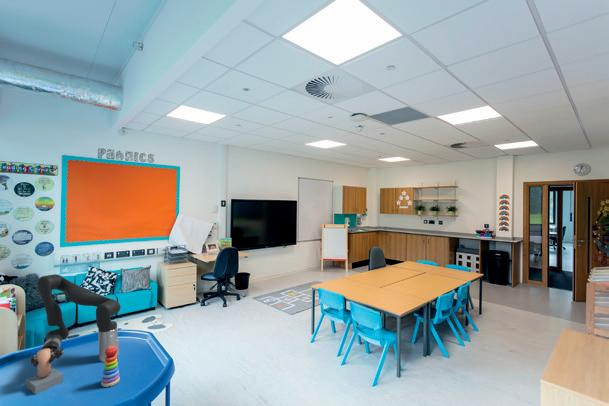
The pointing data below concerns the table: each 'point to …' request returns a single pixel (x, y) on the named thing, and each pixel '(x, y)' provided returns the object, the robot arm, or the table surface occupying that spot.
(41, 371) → the terracotta peg
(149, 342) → the table surface
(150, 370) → the table surface
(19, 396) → the table surface
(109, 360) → the stacking toy
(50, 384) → the slate base block
